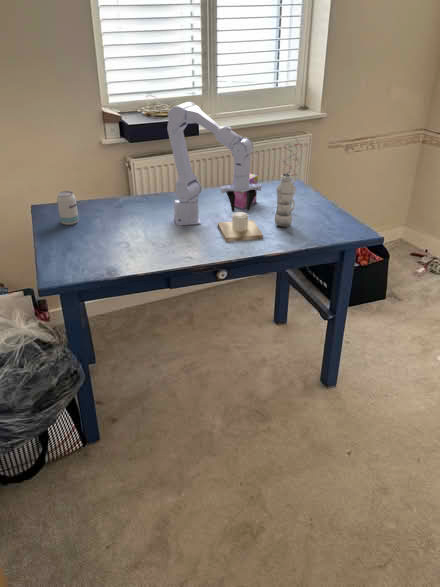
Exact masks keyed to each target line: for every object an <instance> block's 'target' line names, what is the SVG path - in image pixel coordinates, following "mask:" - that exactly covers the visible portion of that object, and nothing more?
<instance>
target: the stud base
mask: <svg viewBox="0 0 440 587" xmlns="http://www.w3.org/2000/svg"><path fill="white" fill-rule="evenodd" d="M217 227H218V229H219V231H220V234H221V235H222V237H223V239H224V241H225V242H237V241H238V242H239V241H249V240H251V241H252V240H260V239H261V240H262V239H263V238H264V234H263V233H262V231H261V230H260V228H259V227H258V225H257V224H256V222H255V221H254V220H253V219H248V229H247V230H246V231H242V232H238V231H234V230H233V228H232V221H221V222H217Z"/></svg>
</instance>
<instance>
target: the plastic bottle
mask: <svg viewBox="0 0 440 587" xmlns="http://www.w3.org/2000/svg"><path fill="white" fill-rule="evenodd" d="M292 178H293V174H289V173H288V174H285V173H283V174H281V178H280V182H279V183H278V185H277V187H276V200H277V203H276V205H277V206H276V211H275V215H274V223H275V225H276V226H278V227H281V228H286V227H290V226H291V224H292V221H293V217H292V216H293V214H292V211H291V209H292V206H293V201H292V199H294V196H293V195H294V192H295V190H294V187H293V185H292V183H291V182H293V181H292V180H293V179H292Z"/></svg>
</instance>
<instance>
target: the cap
mask: <svg viewBox="0 0 440 587" xmlns="http://www.w3.org/2000/svg"><path fill="white" fill-rule="evenodd" d="M248 220H249V215H248V213H246V212H243V211H238V212H237V211H236V212H235V211H234V212H233V213H232V221H231V222H232V228H233V230H234V231H238V232H242V231H246V230H247V229H248Z"/></svg>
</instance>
